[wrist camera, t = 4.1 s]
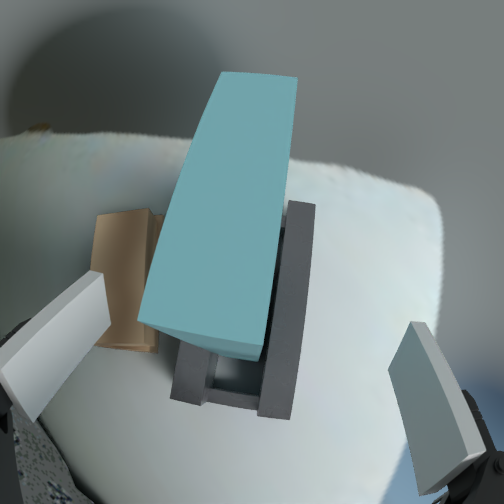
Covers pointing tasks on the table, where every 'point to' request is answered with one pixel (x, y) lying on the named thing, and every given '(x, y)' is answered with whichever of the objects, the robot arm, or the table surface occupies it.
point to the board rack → (280, 335)
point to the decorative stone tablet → (41, 466)
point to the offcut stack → (126, 275)
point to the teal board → (225, 220)
